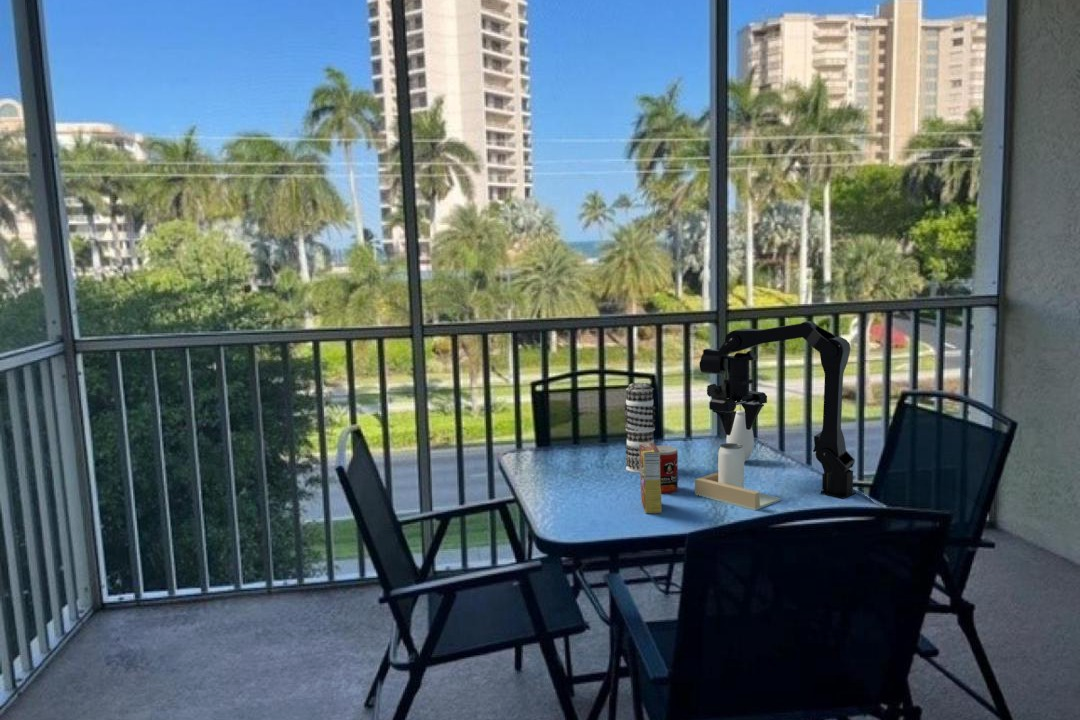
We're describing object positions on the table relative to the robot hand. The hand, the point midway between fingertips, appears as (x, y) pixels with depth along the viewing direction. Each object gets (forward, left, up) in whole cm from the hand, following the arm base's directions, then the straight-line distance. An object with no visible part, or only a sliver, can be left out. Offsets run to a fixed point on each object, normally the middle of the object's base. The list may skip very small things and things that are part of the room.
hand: (738, 432), depth 214 cm
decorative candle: (+26, +11, -13) cm, 31 cm away
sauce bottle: (+10, -15, -13) cm, 22 cm away
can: (-7, +13, -13) cm, 19 cm away
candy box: (0, +36, -13) cm, 38 cm away
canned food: (+8, +22, -13) cm, 27 cm away
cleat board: (-10, +14, -13) cm, 22 cm away
